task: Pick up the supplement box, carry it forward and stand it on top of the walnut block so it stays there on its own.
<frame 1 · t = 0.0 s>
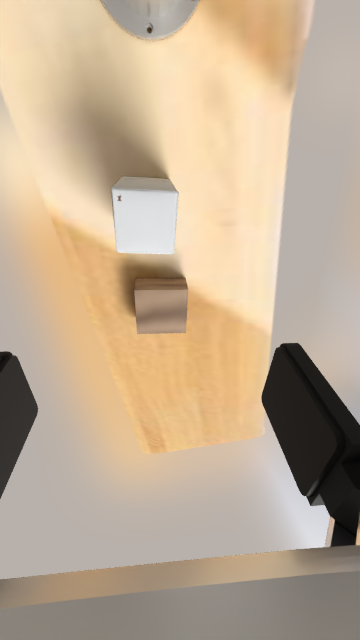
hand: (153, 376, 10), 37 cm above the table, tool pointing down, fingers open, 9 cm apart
supplement box: (147, 203, 40), on the table
walnut block: (160, 299, 50), on the table
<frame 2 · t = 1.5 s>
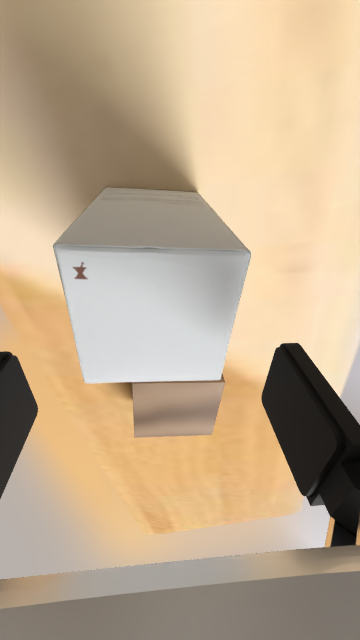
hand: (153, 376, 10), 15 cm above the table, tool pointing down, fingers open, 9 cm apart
supplement box: (153, 236, 22), on the table
walnut block: (173, 376, 32), on the table
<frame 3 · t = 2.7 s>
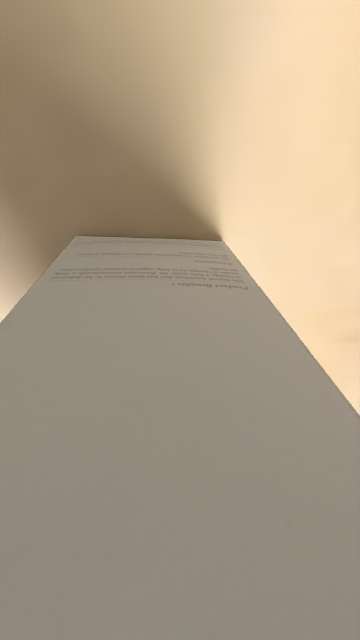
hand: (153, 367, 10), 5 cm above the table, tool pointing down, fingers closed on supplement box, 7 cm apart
supplement box: (153, 301, 14), on the table, touching gripper
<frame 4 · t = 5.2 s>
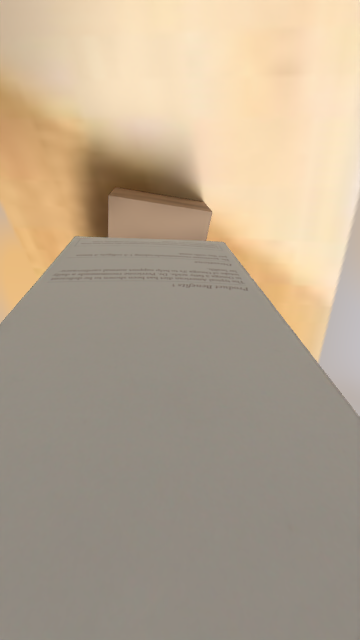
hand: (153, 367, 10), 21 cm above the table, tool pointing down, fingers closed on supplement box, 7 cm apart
supplement box: (153, 302, 14), point 16 cm above the table, touching gripper
walnut block: (155, 238, 29), on the table
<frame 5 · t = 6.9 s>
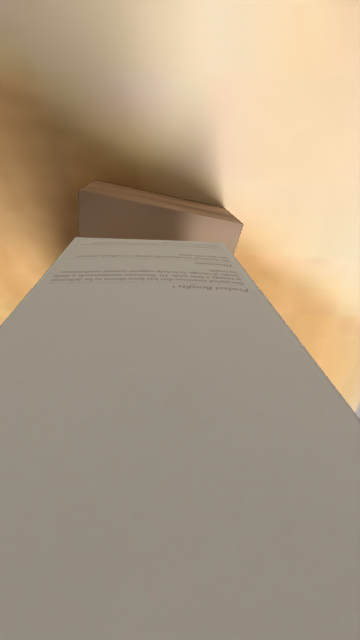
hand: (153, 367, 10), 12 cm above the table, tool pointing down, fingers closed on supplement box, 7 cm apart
supplement box: (153, 302, 14), point 7 cm above the table, touching gripper
walnut block: (153, 255, 21), on the table
when the fingers open (11 cm above the table, at t = 7.8 s): supplement box drops 1 cm, point 4 cm above the table.
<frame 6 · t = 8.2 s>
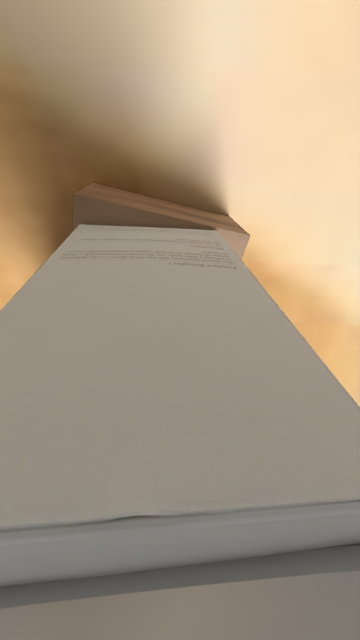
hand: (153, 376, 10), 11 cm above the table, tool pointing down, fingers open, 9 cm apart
supplement box: (151, 288, 15), point 4 cm above the table
walnut block: (152, 263, 19), on the table
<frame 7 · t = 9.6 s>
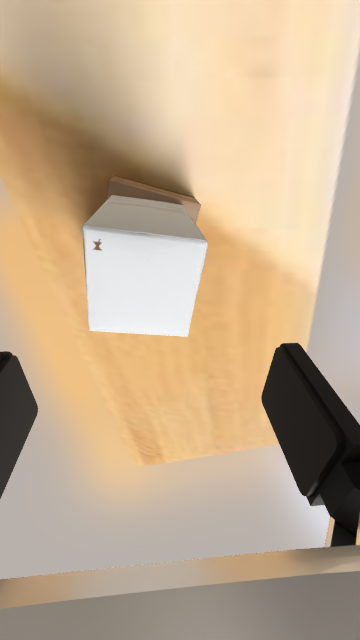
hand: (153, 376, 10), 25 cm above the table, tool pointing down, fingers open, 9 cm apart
supplement box: (146, 236, 27), point 5 cm above the table
walnut block: (148, 227, 31), on the table
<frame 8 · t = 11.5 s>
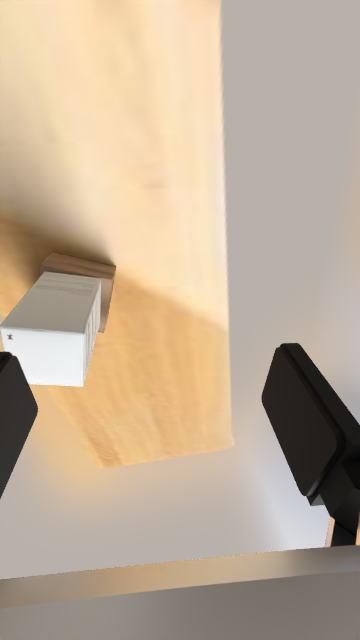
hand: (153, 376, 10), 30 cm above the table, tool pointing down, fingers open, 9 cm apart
supplement box: (75, 297, 36), point 5 cm above the table
walnut block: (82, 285, 40), on the table
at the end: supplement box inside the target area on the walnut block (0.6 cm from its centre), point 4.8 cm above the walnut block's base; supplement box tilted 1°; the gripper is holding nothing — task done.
